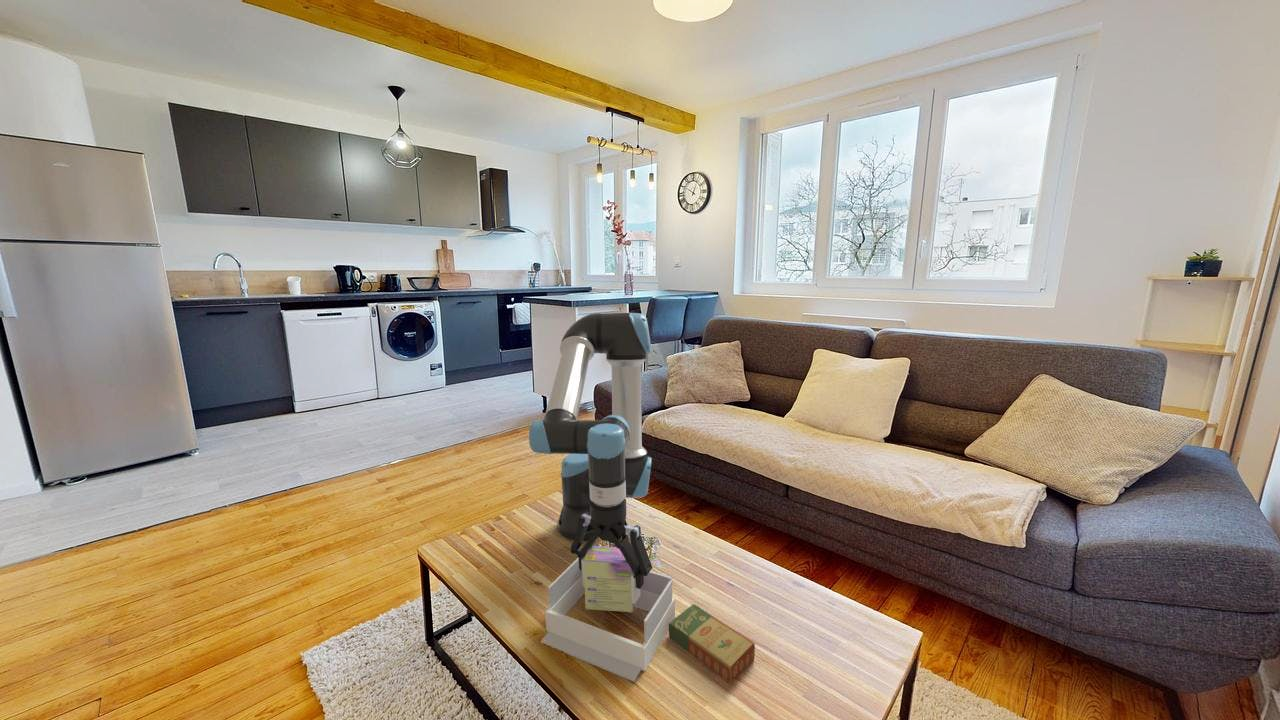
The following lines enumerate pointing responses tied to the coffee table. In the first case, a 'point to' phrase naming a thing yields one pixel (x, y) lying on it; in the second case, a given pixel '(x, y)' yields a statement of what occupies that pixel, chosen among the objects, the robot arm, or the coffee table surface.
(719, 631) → the carton
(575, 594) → the open crate
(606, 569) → the box
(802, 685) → the coffee table surface
